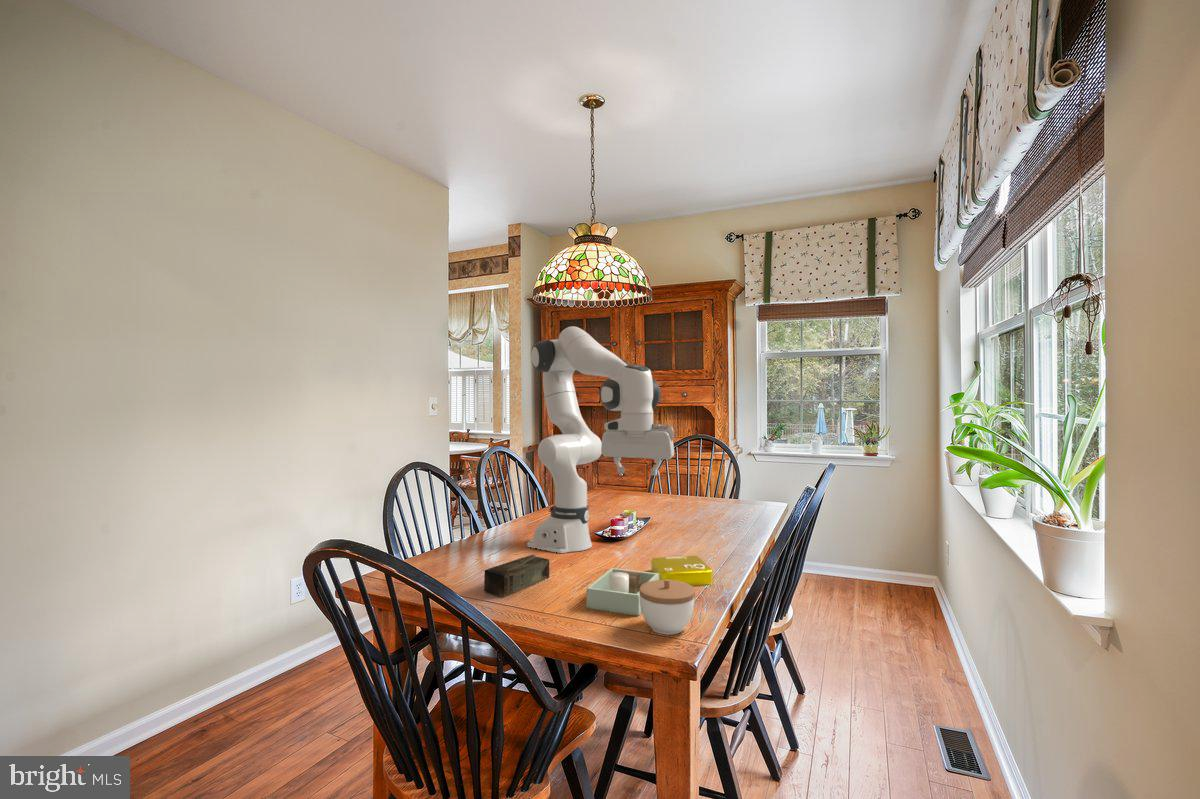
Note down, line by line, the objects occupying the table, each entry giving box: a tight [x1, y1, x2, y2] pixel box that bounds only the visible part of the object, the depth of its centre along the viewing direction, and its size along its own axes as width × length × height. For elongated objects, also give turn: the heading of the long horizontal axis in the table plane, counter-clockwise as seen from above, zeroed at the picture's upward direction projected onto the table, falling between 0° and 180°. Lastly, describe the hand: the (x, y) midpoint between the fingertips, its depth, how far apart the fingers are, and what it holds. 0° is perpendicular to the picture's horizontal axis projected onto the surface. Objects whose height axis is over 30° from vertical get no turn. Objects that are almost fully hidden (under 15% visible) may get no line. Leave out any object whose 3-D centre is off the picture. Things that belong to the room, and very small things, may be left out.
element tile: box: [650, 555, 713, 586], centre depth 168 cm, size 15×15×5 cm
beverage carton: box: [483, 554, 550, 598], centre depth 162 cm, size 8×19×7 cm, turn 145°
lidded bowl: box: [639, 579, 696, 636], centre depth 133 cm, size 13×13×11 cm
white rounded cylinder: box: [609, 572, 629, 593], centre depth 147 cm, size 5×5×7 cm
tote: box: [586, 567, 659, 617], centre depth 151 cm, size 14×18×5 cm
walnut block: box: [622, 569, 641, 594], centre depth 154 cm, size 5×5×5 cm
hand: (637, 474), depth 160 cm, fingers open, 8 cm apart
